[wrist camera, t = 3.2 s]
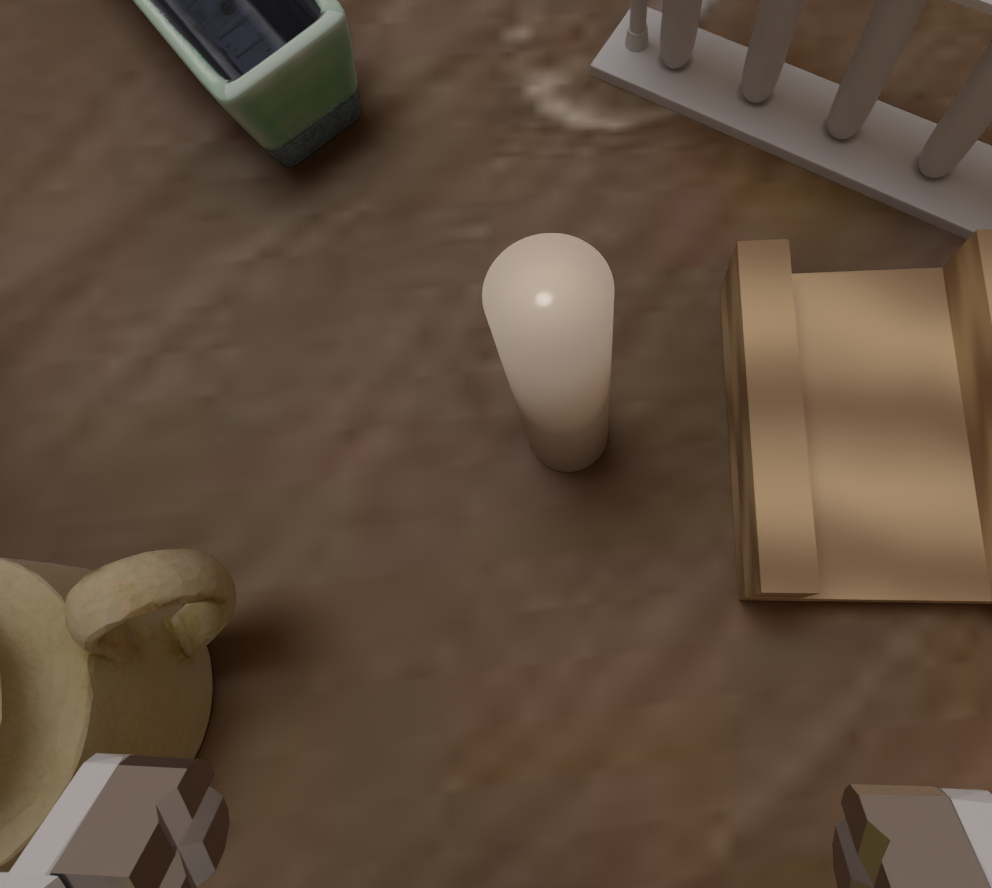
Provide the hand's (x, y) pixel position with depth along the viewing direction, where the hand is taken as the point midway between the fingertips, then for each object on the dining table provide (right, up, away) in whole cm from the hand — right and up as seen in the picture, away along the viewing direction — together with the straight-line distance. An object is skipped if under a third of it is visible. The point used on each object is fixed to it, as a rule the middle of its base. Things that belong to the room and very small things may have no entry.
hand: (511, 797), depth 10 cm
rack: (+16, +5, +22) cm, 27 cm away
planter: (-17, +30, +34) cm, 48 cm away
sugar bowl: (-17, -5, +24) cm, 30 cm away
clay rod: (+3, +5, +24) cm, 25 cm away
